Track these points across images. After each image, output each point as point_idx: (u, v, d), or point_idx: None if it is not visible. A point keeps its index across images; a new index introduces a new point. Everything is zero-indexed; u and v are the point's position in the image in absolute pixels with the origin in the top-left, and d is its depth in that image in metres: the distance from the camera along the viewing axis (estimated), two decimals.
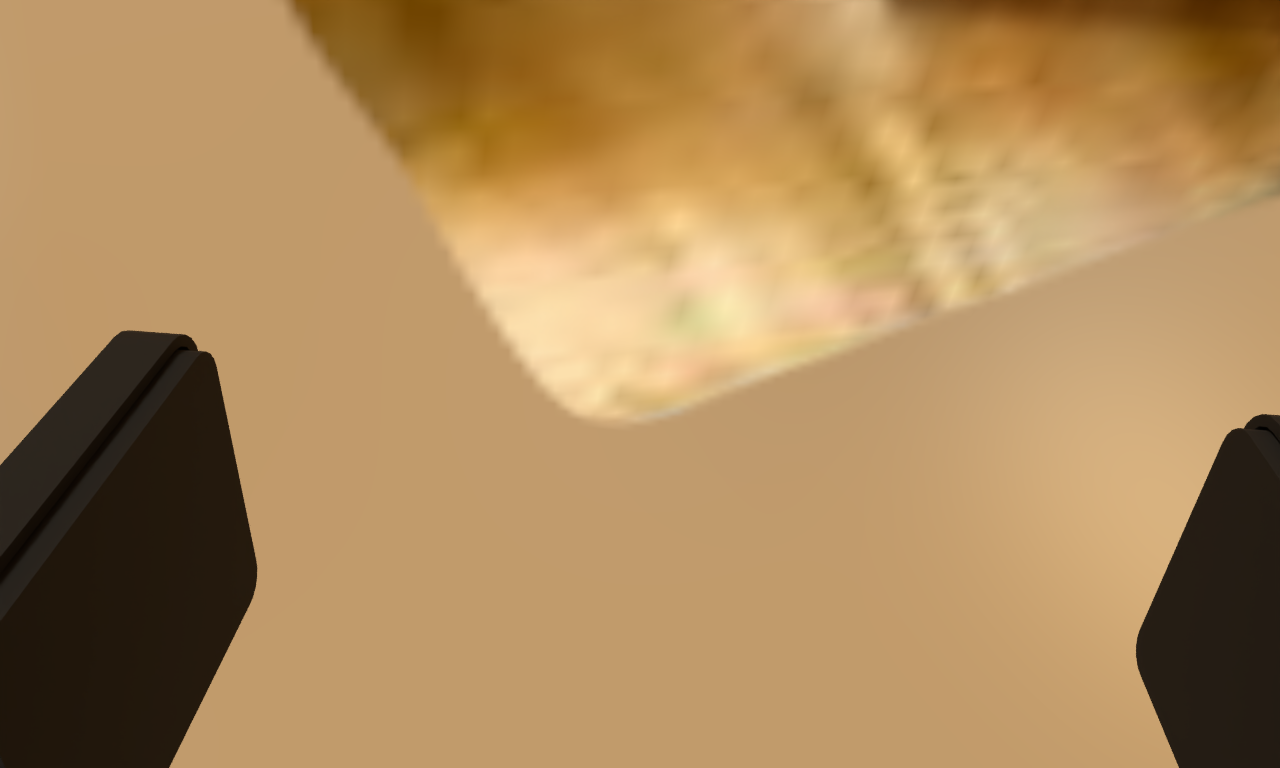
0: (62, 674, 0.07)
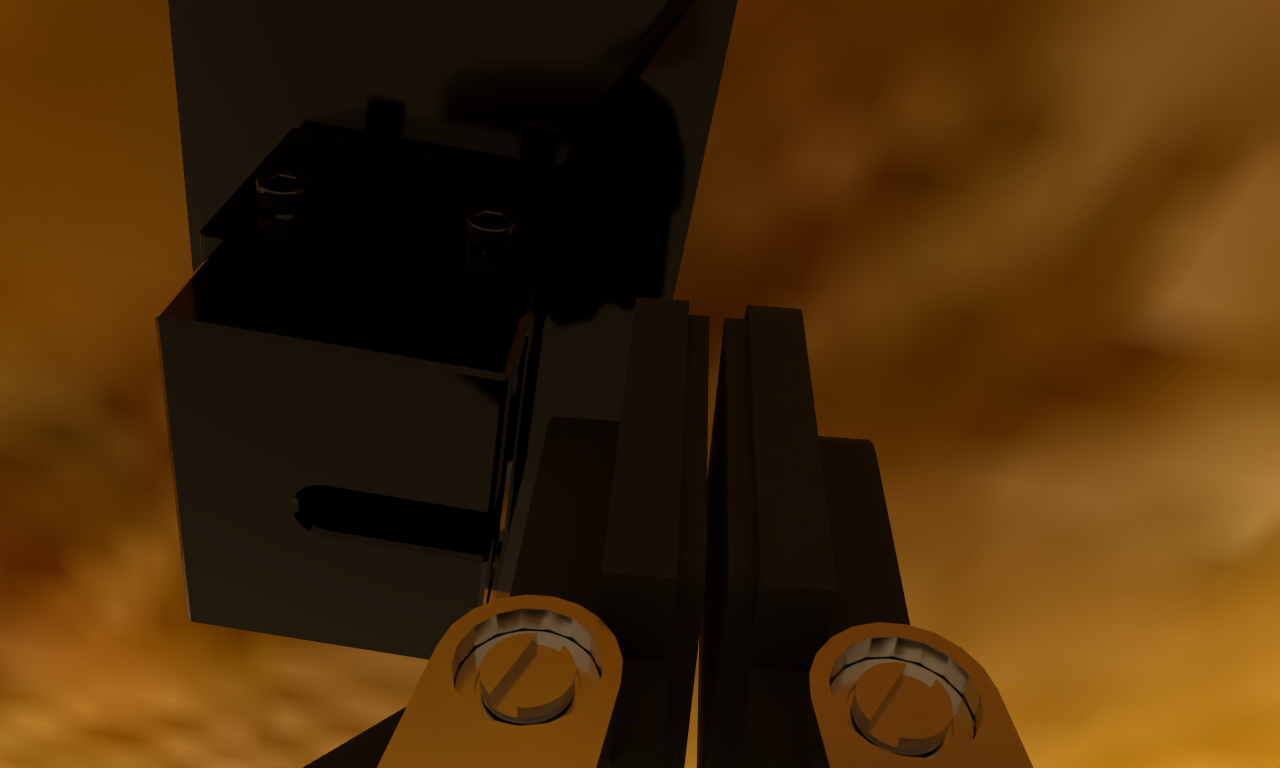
0: None
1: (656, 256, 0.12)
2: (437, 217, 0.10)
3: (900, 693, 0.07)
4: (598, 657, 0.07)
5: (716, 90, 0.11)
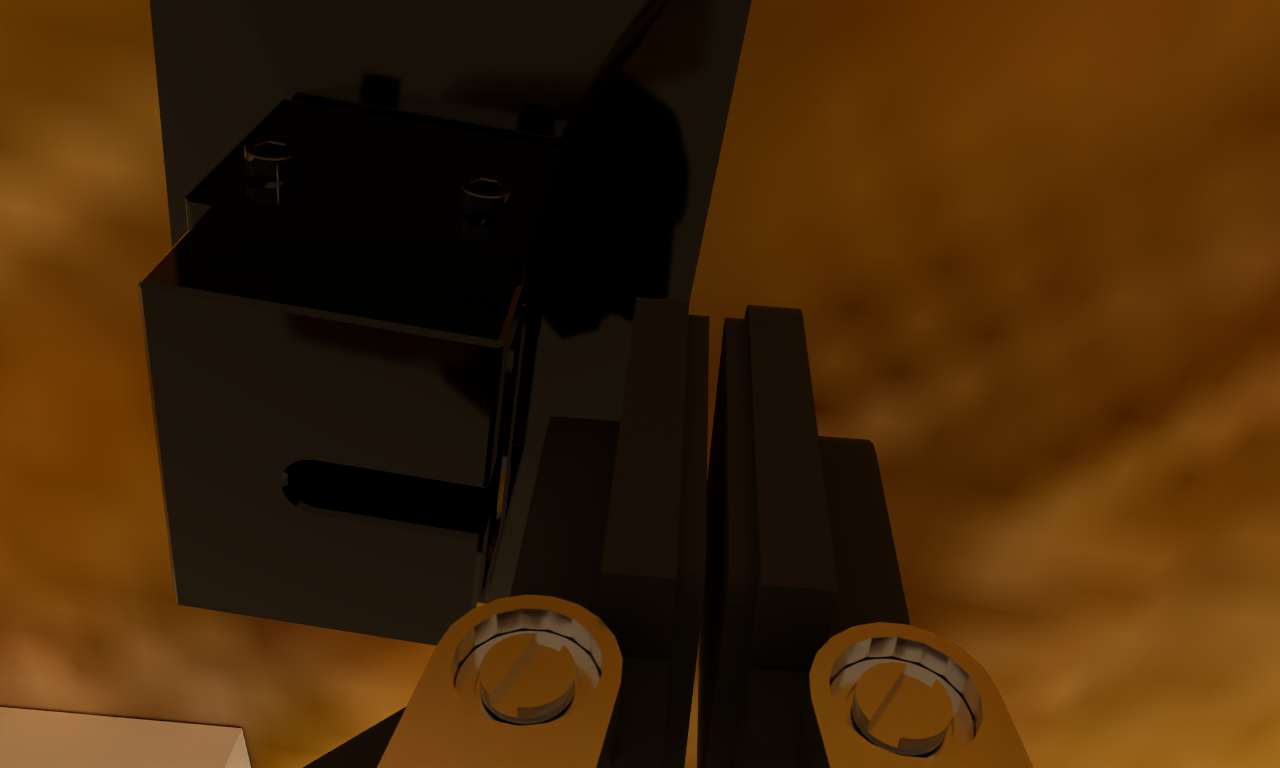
0: None
1: (657, 232, 0.12)
2: (431, 186, 0.10)
3: (900, 693, 0.07)
4: (598, 657, 0.07)
5: (718, 59, 0.11)
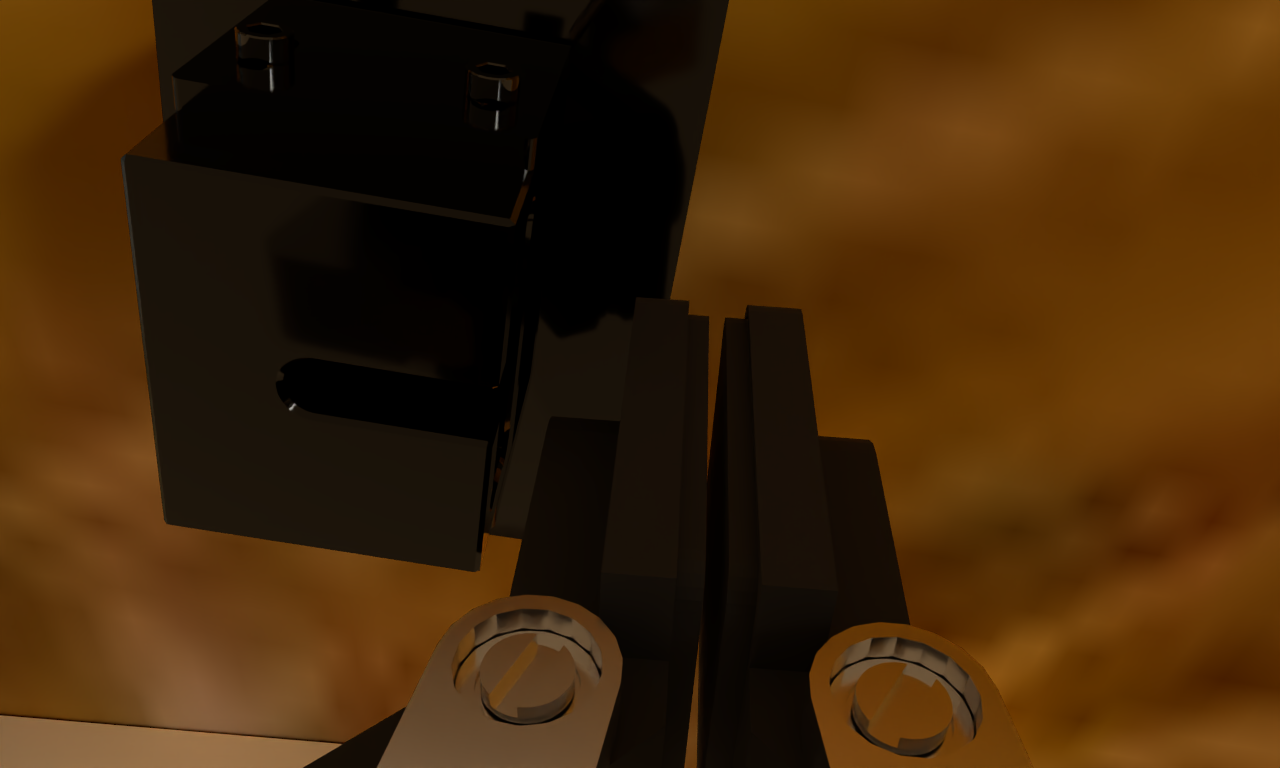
0: None
1: (670, 144, 0.12)
2: (435, 74, 0.09)
3: (901, 693, 0.07)
4: (598, 657, 0.07)
5: None
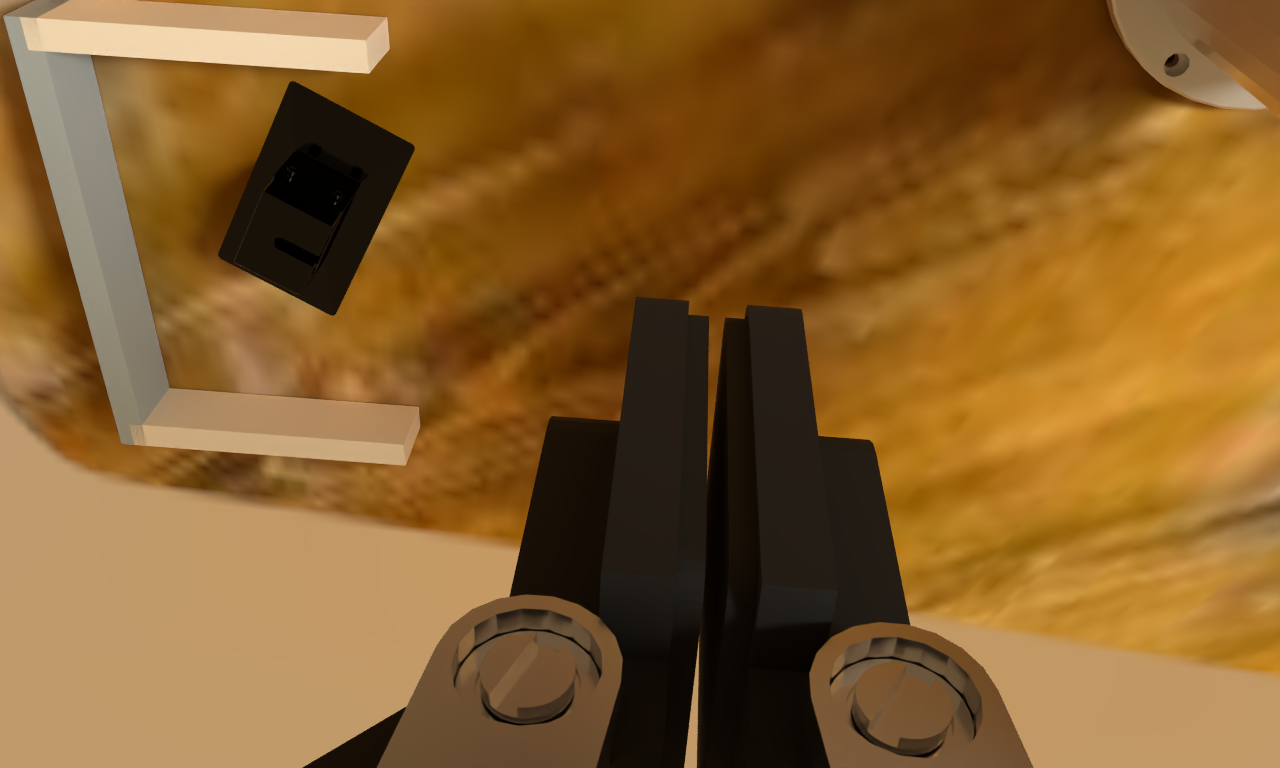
0: None
1: (378, 214, 0.46)
2: (325, 188, 0.43)
3: (900, 693, 0.07)
4: (598, 657, 0.07)
5: None
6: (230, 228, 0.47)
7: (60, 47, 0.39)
